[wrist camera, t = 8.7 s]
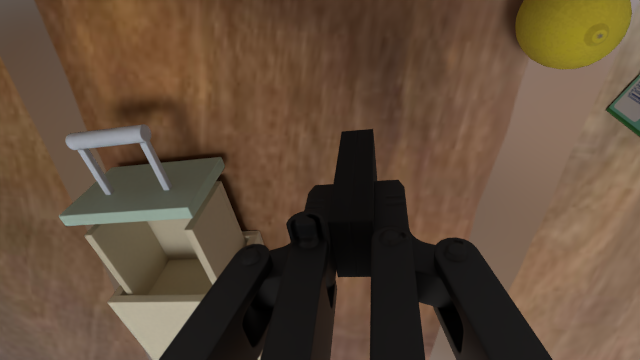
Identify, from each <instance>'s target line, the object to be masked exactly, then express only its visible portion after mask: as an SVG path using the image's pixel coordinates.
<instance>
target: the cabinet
mask: <svg viewBox="0 0 640 360" xmlns="http://www.w3.org/2000/svg"><path fill="white" fill-rule="evenodd" d="M242 234H243V236H244V239H245V241H246V244H247V245H251V244H262V245H264V243H263V240H262V237H261V234H260V232H259V231H243V232H242ZM247 245H246V246H247ZM264 246H265V245H264ZM205 295H206V294H201V295H129V296H128V295H127V293H126V292H125V291H124V289H123V288H122V286H121V285H120V286H119V287H118V289H117V290H116V291H115V293H114V294H113V296H112V297H111V299H110V300H109V301H108V304H109V305H110V306H111V308H112V309H113V310H114V311H115V313H116V314H117V315H118V316H119V318H120V319H121V320H122V321H123V323H124V324H125V325H126V326H127V328H128V329H129V330H130V331H131V333H132V334H133V335H134V336H135V338H136V339H137V340H138V341H139V343H140V344H141V345H142V346H143V348H144V349H145V350H146V351H147V353H148V354H149V355H150V356H151V358H152V359H153V360H159V358H160V357H161V356H162V354H163V353H164V352H165V350H166V349H167V347H168V346H169V345H170V343H171V342H172V341H173V339H174V338H175V336H176V335H177V334H178V332H179V331H180V329H181V328H182V327H183V325H184V324H185V323H186V321H187V320H188V318H189V317H190V316H191V314H192V313H193V312H194V310H195V309H196V307H197V306H198V305H199V303H200V302H201V301H202V299H203V298H204V296H205ZM262 351H263V350H262ZM261 354H262V352H261ZM261 354H260V356H259V358H258V360H260V358H261Z"/></svg>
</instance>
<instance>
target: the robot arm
mask: <svg viewBox="0 0 640 360" xmlns="http://www.w3.org/2000/svg"><path fill="white" fill-rule="evenodd" d="M286 225H287V229H288V232H289V236H290V240H291V243H290V244H288V245H286V246H284V247H281V248H278V249H274V250H271V251H269V249H268V248H267V247H266V246H264V245H262V244H251V245H247V246H245V247H243V248H241V249H240V250H239V251H238V252H237V253H236V254H235V255H234V256H233V258H232V259H231V261H230V262H229V263H228V265H227V266H226V267H225V269H224V270H223V272H222V273H221V274H220V276H219V277H218V278H217V280H216V281H215V283H214V284H213V285H212V287H211V288H210V289H209V291H208V292H207V294H206V295H205V296H204V298H203V299H202V301H201V302H200V303H199V305H198V306H197V307H196V309H195V310H194V312H193V313H192V314H191V316H190V317H189V318H188V320H187V321H186V323H185V324H184V325H183V327H182V328H181V329H180V331H179V332H178V334H177V335H176V336H175V338H174V339H173V341H172V342H171V343H170V345H169V346H168V347H167V349H166V350H165V352H164V353H163V354H162V356H161V357H160V358H159V360H258V358H259V356H260V354H261V352H262V354H261V358H260V360H330V356H331V345H332V335H333V325H334V315H335V305H336V295H337V285H336V280H335V278H336V269H337V275H338V277H371V321H370V360H425V353H424V345H423V336H422V327H421V319H420V310H419V302H421V303H424V304H427V305H431V306H433V307H434V310H435V313H436V315H437V317H438V319H439V322H440V324H441V326H442V328H443V330H444V333H445V335H446V337H447V340H448V342H449V344H450V346H451V348H452V351H453V353H454V355H455V357H456V360H552V358H551V357H550V355H549V354H548V352H547V351H546V349H545V348H544V346H543V345H542V343H541V342H540V340H539V339H538V337H537V336H536V335H535V333H534V332H533V330H532V329H531V327H530V326H529V324H528V323H527V321H526V320H525V318H524V317H523V315H522V314H521V312H520V311H519V309H518V308H517V307H516V305H515V304H514V302H513V301H512V299H511V298H510V296H509V295H508V293H507V292H506V290H505V289H504V287H503V286H502V284H501V283H500V281H499V280H498V279H497V277H496V276H495V274H494V273H493V271H492V270H491V268H490V267H489V265H488V264H487V262H486V261H485V259H484V258H483V256H482V255H481V254H480V252H479V251H478V249H477V248H476V247H475V246H474V245H473V244H472V243H470V242H469V241H467V240H465V239H460V238H446V239H444V240H441V241H440V242H439V243H437V244H436V245H433V244H428V243H425V242H422V241H420V240H418V239H416V238H415V237H414V236H413V235H412V234H411V232H410V230H409V224H408V215H407V207H406V198H405V189H404V186H403V185H402V184H401V183H400V181H399V180H386V181H377V171H376V159H375V146H374V134H373V129H368V130H356V131H344V132H342V134H341V140H340V146H339V153H338V159H337V166H336V172H335V178H334V184H330V185H315V186H314V187H313V188H312V190H311V191H310V192H309V194H308V198H307V202H306V206H305V210H304V212H299V213H297V214H295V215H293V216H292V217H291V218H290V219H289V220H288V222H287V223H286ZM262 350H263V351H262Z"/></svg>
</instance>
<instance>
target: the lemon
mask: <svg viewBox="0 0 640 360" xmlns="http://www.w3.org/2000/svg"><path fill="white" fill-rule="evenodd" d="M631 15H632V10H631V2H630V0H524V1H523V3H522V4H521V6H520V9H519V11H518V14H517V17H516V24H515V30H516V38H517V40H518V43H519V45H520V47H521V49H522V50H523V51H524V52H525V53H526V54H527V55H528V57H529V58H531V59H532V60H534V61H536V62H537V63H539V64H541V65H543V66H546V67H552V68H556V69H575V68H580V67H584V66H588V65H590V64H592V63H594V62H596V61H599V60H600V59H602V58H603V57H605V56H606V55H608V54H609V53H610V52H611V51H612V50H613V49H614V48H615V47H616V46H617V45H618V44H619V43H620V42H621V40H622V39H623V37H624V36H625V34H626V32H627V29H628V27H629V25H630V20H631Z"/></svg>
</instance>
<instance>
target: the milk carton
mask: <svg viewBox="0 0 640 360" xmlns="http://www.w3.org/2000/svg"><path fill="white" fill-rule="evenodd" d="M607 112H609V113H610V114H611V115H612V116H614V117H615V118H616V119H618V120H619V121H620V122H621V123H623V124H624V125H625V126H626V127H628V128H629V129H630V130H632V131H633V132H634V133H635V134H637V135H638V136H639V137H640V75H639V76H638V77H637V78H636V79H635V80H634V81H633V82H632V83H631V84H630V85H629V86H628V88H627V89H626V90H625V91H624V92H623V93H622V94H621V95H620V96H619V97H618V98H617V99H616V100H615V101H614V102H613V103H612V104H611V105H610V106H609V108H608V109H607Z"/></svg>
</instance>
